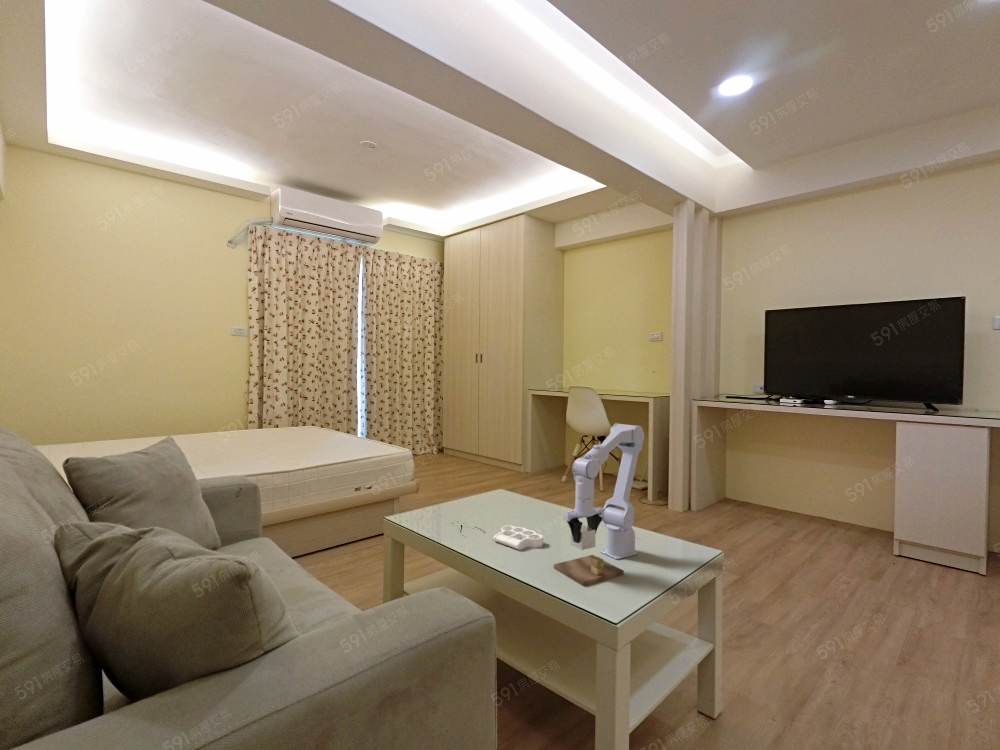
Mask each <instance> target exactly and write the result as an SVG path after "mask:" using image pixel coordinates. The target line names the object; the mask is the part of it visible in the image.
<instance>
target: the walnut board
mask: <svg viewBox="0 0 1000 750" xmlns="http://www.w3.org/2000/svg"><path fill="white" fill-rule="evenodd" d="M553 569H555V570H556V571H557V572H559V573H561V574H563V575H564V576H566V577H567V578H568V579H571V580H573V581H574V582H576V583H578V584H580V585H581V586H582V587H585V586H589V585H593V584H595V583H600V582H602V581H607V580H609V579H613V578H616V577H620V576H623V575H624V572H625V571H624V569H621V568H619V567H618V566H615V565H614V564H612V563H610V562H608V561H606V560H604V559H603V558H601V557H600V556H596V555H594V554H589V555H586V556H582V557H578V558H574V559H571V560H570V559H569V560H566V561H562V562H559V563H554V564H553Z"/></svg>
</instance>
